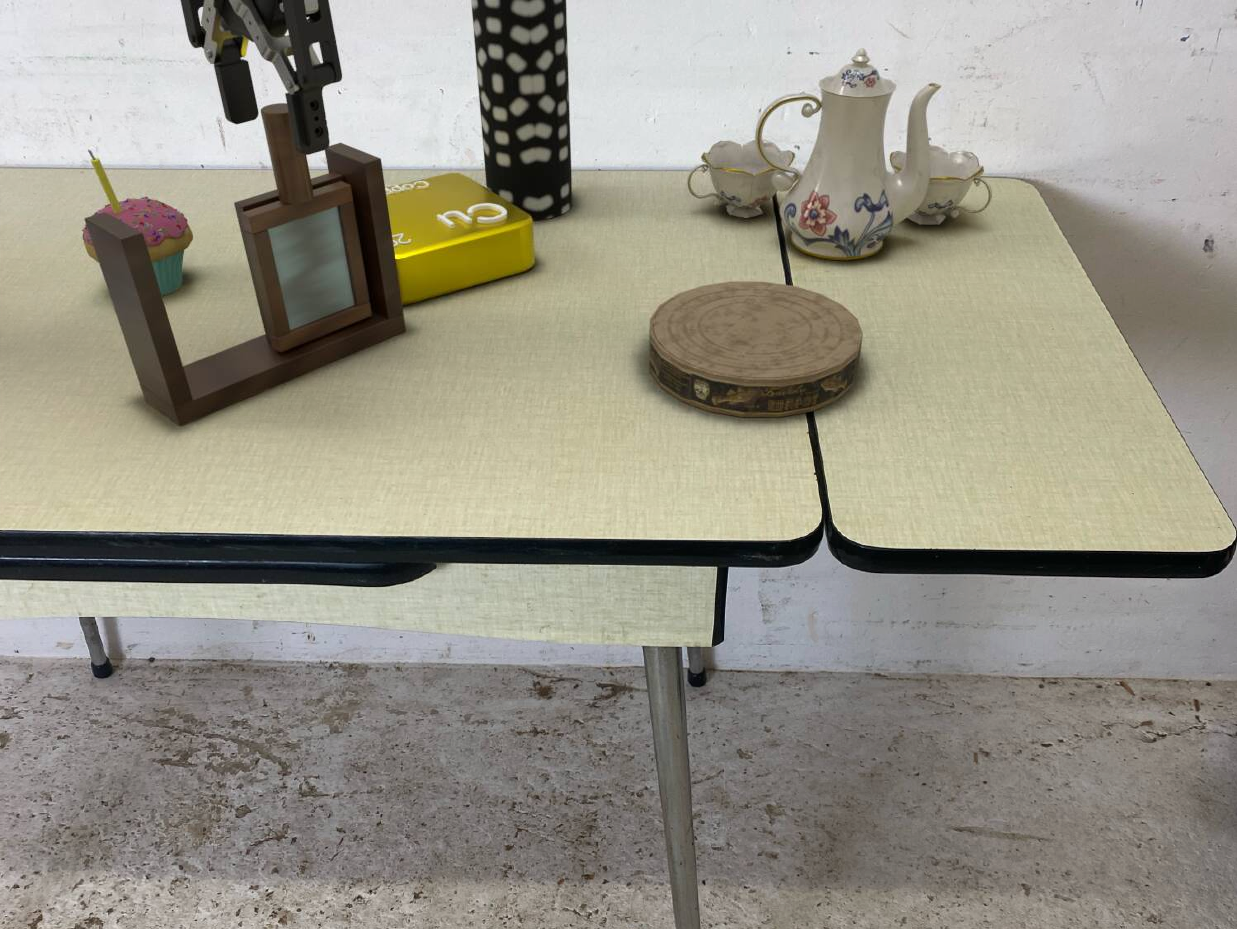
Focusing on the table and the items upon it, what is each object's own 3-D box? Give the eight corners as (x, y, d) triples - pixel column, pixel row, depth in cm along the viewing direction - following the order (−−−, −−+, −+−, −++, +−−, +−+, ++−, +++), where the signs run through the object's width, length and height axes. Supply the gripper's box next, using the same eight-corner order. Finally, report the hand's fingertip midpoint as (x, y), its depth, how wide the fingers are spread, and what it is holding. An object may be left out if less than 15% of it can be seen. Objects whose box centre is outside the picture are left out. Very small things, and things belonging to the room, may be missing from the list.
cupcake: (155, 315, 89) (109, 166, 81) (78, 297, 92) (26, 150, 84) (224, 275, 95) (188, 132, 87) (150, 258, 98) (108, 118, 90)
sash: (285, 355, 80) (232, 127, 70) (267, 345, 82) (213, 118, 71) (377, 318, 85) (341, 98, 74) (359, 308, 86) (321, 90, 75)
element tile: (463, 214, 105) (458, 163, 102) (544, 267, 96) (541, 214, 93) (318, 250, 99) (308, 197, 96) (389, 311, 90) (381, 255, 86)
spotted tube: (543, 227, 103) (532, -12, 89) (471, 210, 106) (449, -23, 92) (587, 198, 108) (583, -31, 95) (517, 183, 111) (503, -41, 98)
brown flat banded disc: (700, 301, 91) (701, 266, 89) (883, 341, 85) (890, 306, 83) (611, 386, 80) (611, 349, 78) (815, 438, 75) (820, 400, 73)
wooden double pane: (179, 426, 76) (120, 239, 67) (145, 401, 79) (83, 217, 70) (406, 330, 87) (381, 158, 78) (369, 311, 90) (340, 142, 81)
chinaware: (963, 213, 109) (996, 26, 99) (1008, 267, 95) (1052, 56, 86) (684, 212, 109) (690, 26, 100) (690, 265, 96) (697, 56, 86)
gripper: (100, -163, 64) (173, 124, 75) (228, -138, 57) (289, 177, 68) (213, -174, 68) (267, 100, 79) (346, -151, 61) (386, 147, 72)
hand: (277, 135), depth 73 cm, fingers open, 8 cm apart
